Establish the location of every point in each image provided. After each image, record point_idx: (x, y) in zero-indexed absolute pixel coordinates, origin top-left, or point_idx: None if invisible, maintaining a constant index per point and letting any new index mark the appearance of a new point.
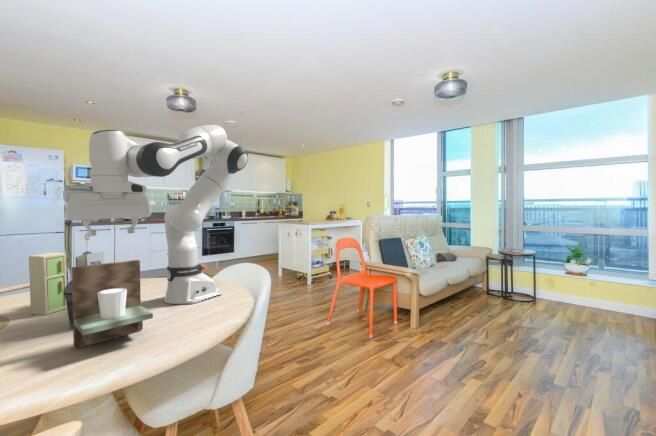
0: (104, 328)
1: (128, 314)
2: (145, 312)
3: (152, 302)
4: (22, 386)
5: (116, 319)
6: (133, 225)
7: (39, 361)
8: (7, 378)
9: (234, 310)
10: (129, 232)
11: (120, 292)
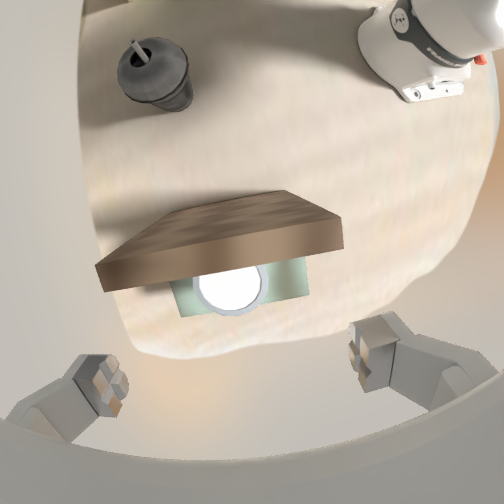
0: None
1: None
2: (297, 281)
3: (332, 23)
4: (135, 319)
5: None
6: (405, 395)
7: None
8: None
9: (450, 209)
10: (352, 361)
11: (249, 311)
